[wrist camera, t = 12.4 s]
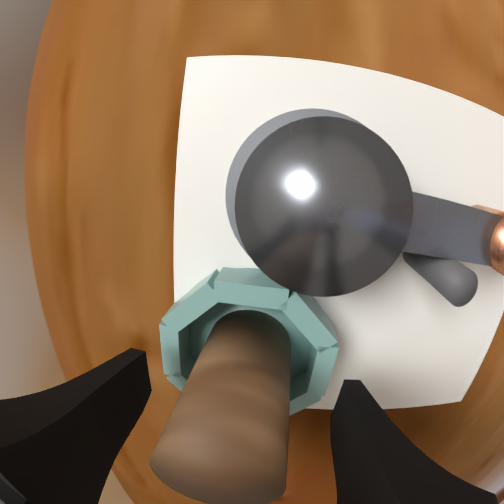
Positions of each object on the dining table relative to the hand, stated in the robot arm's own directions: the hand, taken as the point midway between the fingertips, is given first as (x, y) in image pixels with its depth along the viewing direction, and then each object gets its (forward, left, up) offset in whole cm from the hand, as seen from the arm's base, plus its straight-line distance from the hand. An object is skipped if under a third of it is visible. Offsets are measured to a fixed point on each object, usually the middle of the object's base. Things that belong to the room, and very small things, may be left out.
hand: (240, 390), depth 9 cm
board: (-5, -4, -4) cm, 8 cm away
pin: (0, 0, -3) cm, 3 cm away
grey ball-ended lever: (-5, -6, -3) cm, 9 cm away
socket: (0, 0, -4) cm, 4 cm away
